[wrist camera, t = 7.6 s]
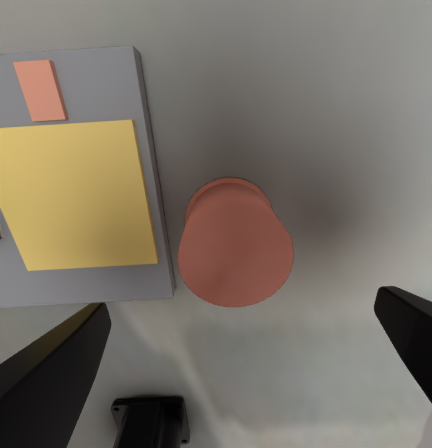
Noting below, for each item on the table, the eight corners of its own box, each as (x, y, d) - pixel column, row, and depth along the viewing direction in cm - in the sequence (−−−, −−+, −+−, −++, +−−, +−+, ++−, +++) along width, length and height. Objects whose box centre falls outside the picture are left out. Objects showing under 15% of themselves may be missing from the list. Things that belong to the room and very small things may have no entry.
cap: (269, 254, 16) (294, 307, 11) (190, 259, 16) (180, 313, 11) (272, 174, 13) (303, 197, 9) (181, 180, 14) (164, 205, 9)
